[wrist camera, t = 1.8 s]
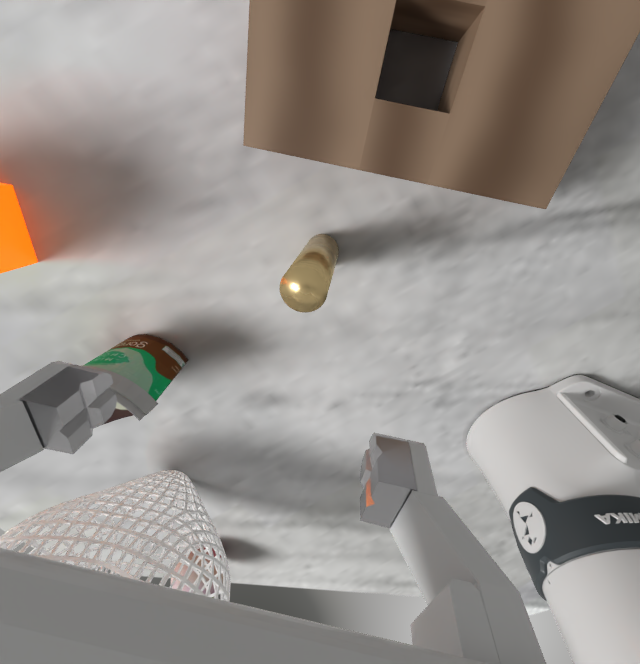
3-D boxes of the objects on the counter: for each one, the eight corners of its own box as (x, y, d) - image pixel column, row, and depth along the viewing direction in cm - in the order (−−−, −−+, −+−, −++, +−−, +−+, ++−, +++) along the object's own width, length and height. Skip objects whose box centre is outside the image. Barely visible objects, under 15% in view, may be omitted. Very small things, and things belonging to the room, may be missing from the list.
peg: (341, 238, 26) (331, 272, 18) (334, 270, 28) (322, 316, 19) (308, 230, 26) (282, 262, 18) (303, 263, 28) (277, 306, 19)
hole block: (614, -17, 17) (697, -78, 13) (511, 201, 23) (545, 209, 19) (282, -82, 18) (256, -162, 13) (265, 149, 24) (243, 145, 19)
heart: (266, 457, 42) (186, 699, 23) (263, 517, 50) (201, 735, 31) (81, 421, 44) (-141, 621, 24) (105, 484, 51) (-48, 675, 32)
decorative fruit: (213, 529, 54) (185, 598, 45) (241, 552, 57) (219, 621, 48) (178, 537, 57) (146, 603, 49) (206, 558, 60) (180, 624, 52)
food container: (168, 312, 32) (97, 365, 24) (198, 357, 35) (144, 419, 26) (89, 340, 36) (2, 396, 27) (121, 379, 38) (51, 441, 30)
